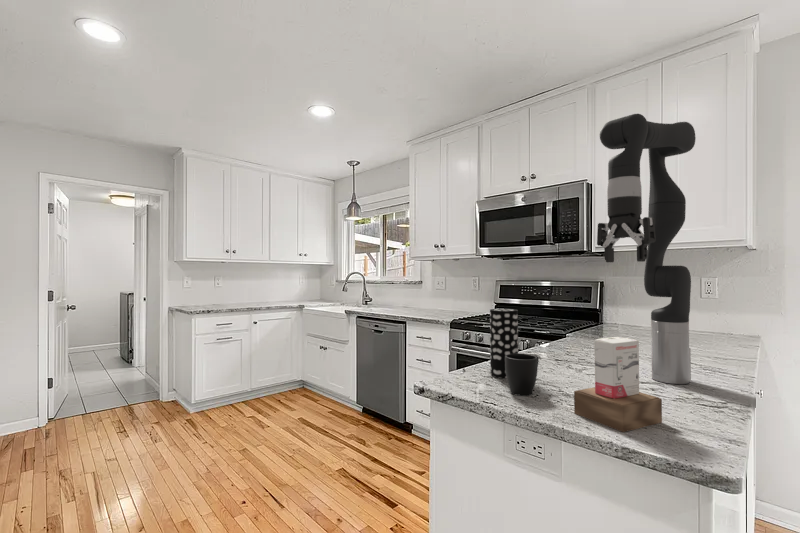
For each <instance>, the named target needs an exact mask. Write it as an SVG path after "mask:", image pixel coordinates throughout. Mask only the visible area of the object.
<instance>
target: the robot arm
mask: <svg viewBox="0 0 800 533" xmlns="http://www.w3.org/2000/svg"><path fill="white" fill-rule="evenodd" d="M696 138H697V137H696V130H695V128H694V126H693V124H692V123H690V122H688V121H679V122H678V121H677V122H674V123H661V122H654V121H648V120H647V118H646V117H645V116H644V115H643V114H641V113H632V114H630V115H626V116H622V117H619V118H617V119H616V118H615V119H613V120H609V121H607V122H606V123H604V124H603V126H602V127H601V128H600V130H599V141H600V142H601V144H602V145H603V147H605V148H607V149H609V150H620V149H621V150H622V149H624V150H623V151H621V152H620V153H618V154H616V155H614V156H612V157H611V158H609V160H608V164H607V174H608V176H607V180H608V183H607V191H606V192H607V194H606V195H607V196H606V197H607V216H608V222H606V223H605V222H598V223H597V233H596V234H597V235H596V245H597V246H598V247H603V249H604V250H603V251H604V261H605V262H606V263H614V262H615V248H614V246H615V244H616V243H617V242H618V241H619V240H620V239H625V238H631V240H633V241H634V242H635V243H636V262H639V263H640V262H642V263H643V262H645V264H644V274H643V276H644V278H643V282H644V290H645V292H646V294H647V295H648V296H650V297H658V298H671V299H670V300H671V301H670V302H669V303H668V304H667V305H666V306H664V307H661V308H657V309H653V310H651V313H650V320H651V321H650V323H651V324H650V326H651V327H650V330H651V332H650V336H651V340H650V344H651V347H650V348H651V379H653V381H657V382H660V383H667V384H671V385H672V384H673V385H685V384H687V385H688V384H690V382H691V381H692V372H691V371H692V359H691V357H692V356H691V355H692V354H691V353H692V352H691V347H690V314H691V313H690V311H691V292H692V291H691V288H692V280H691V279H692V277H691V276H692V275H691V272H690V270H689V269H688V267H687V266H684V265H664V260H665V254H666V251H667V249H668V248H669V246H670V244H671V243H672V241H673V240H674V238H675V237H676V236H677V234H678V233H679V232H680V230H681V228H683V226H684V224H685V222H686V207H687V206H686V205H687V203H686V202H687V201H686V197H685V195H684V192H683V191H682V190H681V189H680V187H679V186H678V185H677V183H676V182H675V181H674V180H673V178H672V177H671V176H670V174H669V172H668V170H667V168H666V158H667V157H668V158H669V157H673V156H679V155H682V154H686V153H688V152H691V151H692V150H693V148H694V147H695V145H696ZM644 150H648V164H649V195H648V197H649V198H648V210H647V211H648V214H647V215H648V216H646V217H643V218H642V217H641V215H642V211H643V208H642V206H643V205H642V204H643V201H642V198H643V197H642V182H641V159H642V154H643V151H644ZM641 226H642V227H641ZM640 228H642V229H643V232H642V231H641V229H640Z"/></svg>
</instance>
